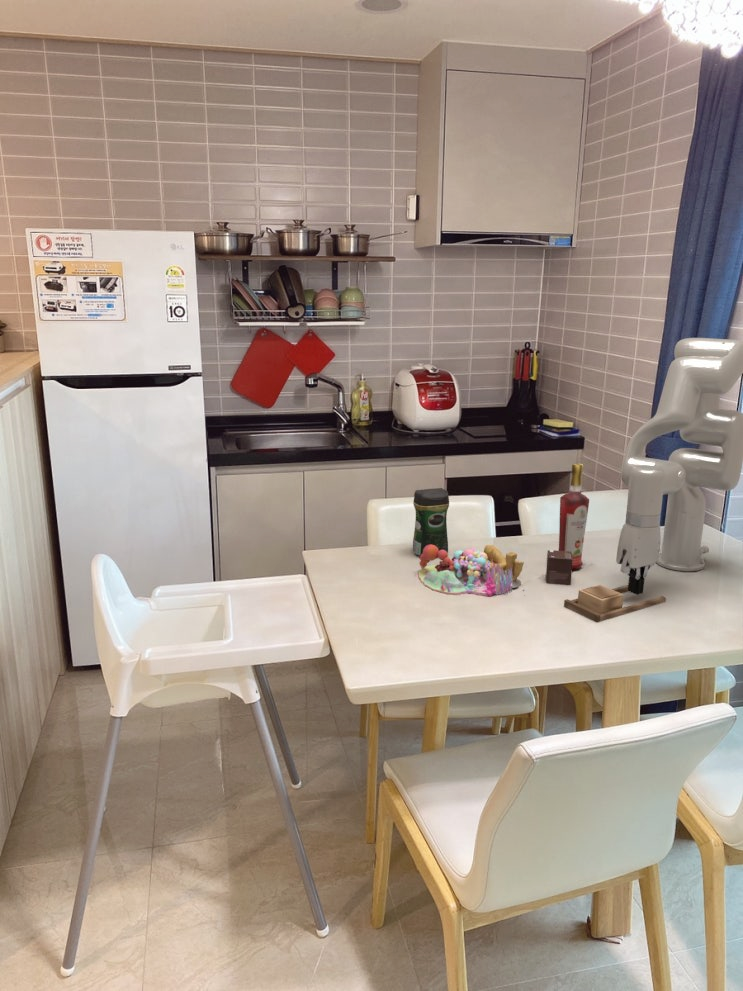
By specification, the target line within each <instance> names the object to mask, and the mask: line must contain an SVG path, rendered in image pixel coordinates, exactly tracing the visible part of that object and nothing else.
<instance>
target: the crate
mask: <svg viewBox="0 0 743 991" xmlns="http://www.w3.org/2000/svg"><path fill="white" fill-rule="evenodd" d="M612 589H613V588H612ZM612 589H611V588H610V587H606V586H604V585H602V584H597V585H594V586H590V587H586V588H582V589H579V590H578V594H577V599H578V604H579V605H581V606H583V607H585V608H587V609H590V610H592V611H594V612H596V613H598V614H603V613H606V612H610V611H613V610H616V609H620V608H623V607H624V605H623V604H624V595H625V594H623V593H619V592H616V591H614V590H612Z"/></svg>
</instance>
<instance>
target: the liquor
mask: <svg viewBox="0 0 743 991" xmlns="http://www.w3.org/2000/svg"><path fill="white" fill-rule="evenodd" d="M583 468H584V464H583V463H576V462H575V463H572V464H571V475H572V477H571V480H570V487H569V492H566V493H565V494H563V495H562V496H560V498H559V499H560V500H559V527H558V528H559V531H558V532H559V535H558V536H559V537H558V551H570V552H572V558H573V561H572V571H575V570H578V569H579V568H581V567H582V566H583V565H584V563H583V561H582V559H583V548H584V541H585V533H586V528H587V527H586V526H587V523H588V522H587V520H588V513H589V507H590V506H589V504H590V498H588V497H587V495H585V494H583V493H582V474H583Z"/></svg>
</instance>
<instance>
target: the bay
mask: <svg viewBox="0 0 743 991" xmlns="http://www.w3.org/2000/svg"><path fill="white" fill-rule="evenodd" d="M612 590H614V591H616V592H619V593H621V594H623V593H627V592H629V591H628V584H626V585H623V586H622V585H621V586H617V587H614V588H612ZM666 600H667V597H666V596H664V595H661V596H657V597H655V598H652V599H648V600H644V601H641V602H636V603H634V604H630V605H627V606H622V608H620V609H616V610H613V611H610V612H606V613H603V614H598V613H596V612H594V611H592V610H590V609H587V608H585V607H583V606H581V605H579V604H578V598H574V599H571V600H570V599H564V600H563V608H565V609H568V610H570V611H572V612H574V613H576V614H579V615H580V616H582V617H584V618H587V619H589V620H591V621H593V622H595V623H600V622H603V621H606V620H610V619H613V618H616V617H620V616H624V615H626V614H630V613H633V612H637V611H640V610H643V609H646V608H647V609H648V608H650V607H654V606H657V605H659V604H663V603H666Z"/></svg>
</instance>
